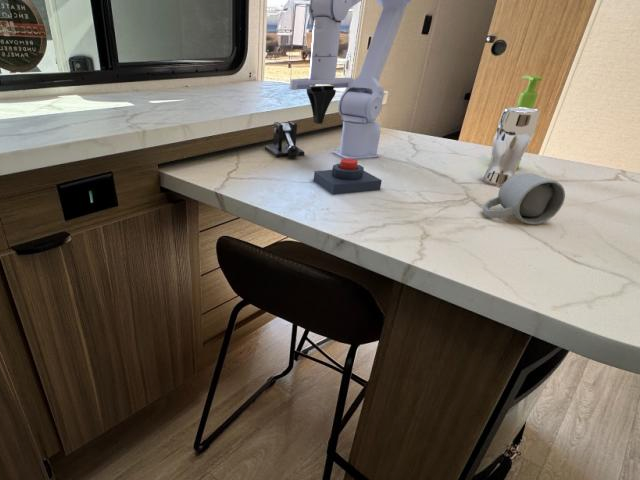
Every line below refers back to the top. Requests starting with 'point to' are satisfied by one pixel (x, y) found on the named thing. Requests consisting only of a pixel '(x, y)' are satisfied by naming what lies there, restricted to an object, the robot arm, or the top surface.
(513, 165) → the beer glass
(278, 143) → the switch bracket
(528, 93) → the soap dispenser
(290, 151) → the switch lever
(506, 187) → the ceramic mug
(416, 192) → the top surface
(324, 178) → the control block
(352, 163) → the button
